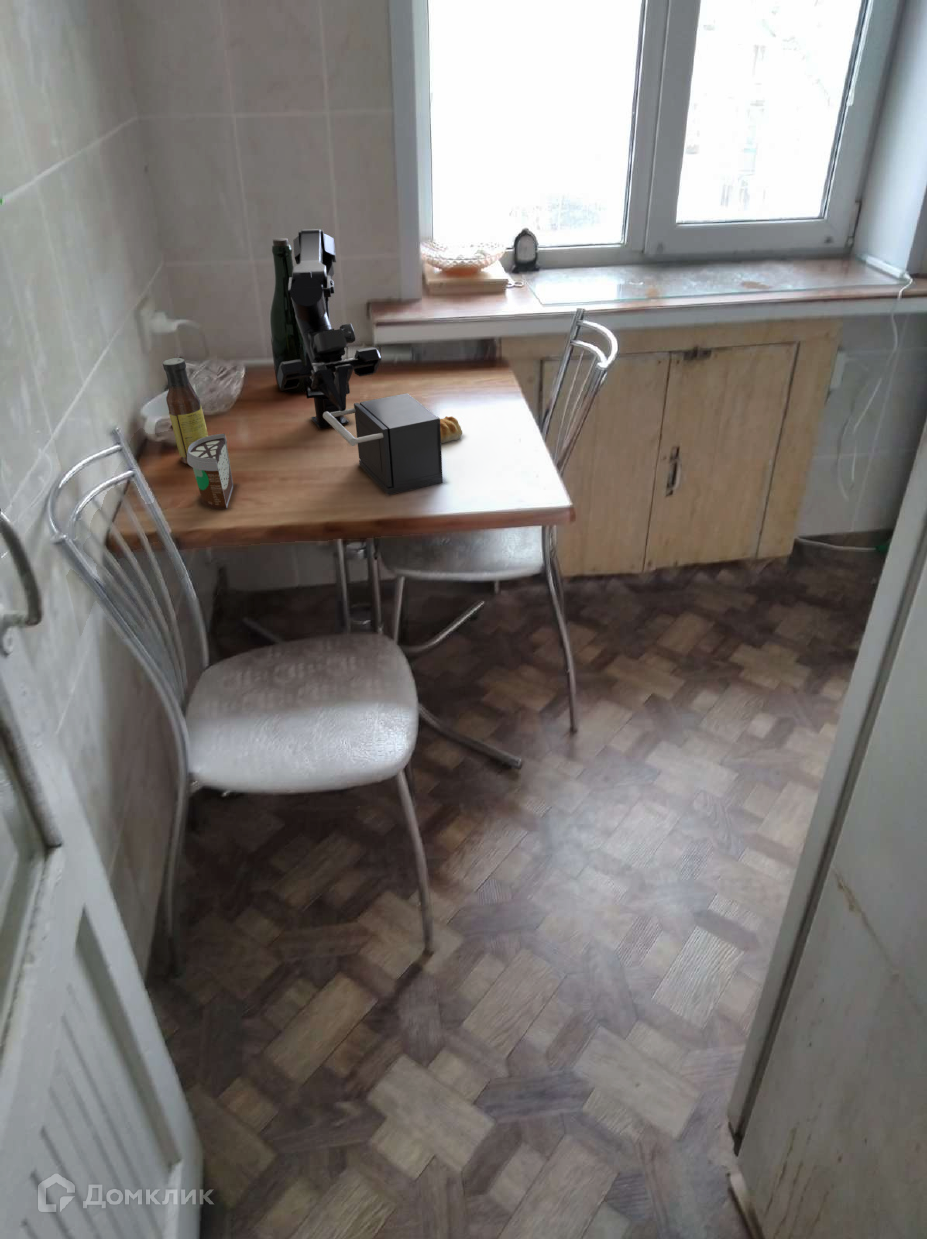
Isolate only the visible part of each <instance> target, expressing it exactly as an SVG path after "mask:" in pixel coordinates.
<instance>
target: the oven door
mask: <svg viewBox="0 0 927 1239" xmlns="http://www.w3.org/2000/svg"><path fill="white" fill-rule="evenodd" d="M352 414H354V421H355V430H356V437H355V436H354V435H353V434H352V433H351V432H350V431H349V430H348V429H347V428H346V427H344V426H343V425H341V424H340V423H339V422H338V421H337V420H336V419H335V418H334V417H337V416H342V415H343V416H346V415H347V416H348V415H352ZM323 418H324V419H325V420H326V421H327V422H328V423H329V424H330V425H331V426H332V427H331V428H333V429H334V430H335V431H336V432H337V433H338V434H339V435H340V436H341V437H342V438H343V439H344V440H345V441H346V442H347V443H348V444H349V445H350V446H351V447H356V445H357V452H358V460H361V461H362V462H363V463H364V464H365V465H366V466H367V467H368V468H369V469H370V470H371V471H372V472H373V473H374V474H375V475H376V476H377V477H378V478H379V479H380V480H381V481H382V482H383V483H384V484H385V485H386V486H387V487H391V486H392V479H391V466H390V453H389V440H388V429H387V428H386V427H385V426H384V425H383V424H382V423H380V422H379V421H378V420H377V419H376V418H375V417H374V416H372V415H371V414H370V413H369V412H368V411H367V410H366V409H365V408H363V407H362V406H361V405H360V402H355V403H353V408H348V409H347V408H346V409H345V411H337V412H331V413H329V412H324V413H323Z"/></svg>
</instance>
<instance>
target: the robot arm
mask: <svg viewBox="0 0 927 1239" xmlns="http://www.w3.org/2000/svg"><path fill="white" fill-rule="evenodd" d="M297 232H298V233H297V234H298V236H296V237H295V238H294V239H293V240H292V242H293V243H292V244H293V245H292V246H293V255H294V256H293V257H294V260H295V264H296V265H294V267H293V271H292V277H289V284H288V295H289V299H292V303H293V307H294V311H295V317H296V320H297V323H298V326H299V329H300V332H301V335H302V338H303V341H304V344H305V351H306V359H305V360H306V366H303V364H302V361H301V360H300V359H299V360H293V361H287V362H282V363H281V364H280V366H279V371H278V376H277V379H278V383H279V386H280V389H281V390H287V389H293V388H297V386H298V385H299V383H300V381H299V378H304V385H305V392H304V393H305V398H306V400H309V399H313V403H314V412H315V416H311V417H310V419H311V421H312V422H313V423H314V424H315V425H316V426H317V427H318V428H319V430H320V429H321V430H322V429H328V428H333V427H332V426H331V425H330V424H329V423H328V422H327V421H326V420H325V419H324V418H323V413H324V412H329V413H331V412H337V411H345V410H347V395H349V394H351V390H350V389H351V388H350V380H351V378H352V374H353V372H354V375H355V376H358V377H360V378H361V377H365V376H372V375H374V374H376V373H377V371H378V368H379V366H380V363H381V361H382V357H381V354H380V351H379V350H378V349H377V348H376V347H374V346H373V347H366V348H361V349H359V348H358V349H356V351H355V354H354V357H350V358H344V359H343V356H345V355H346V350H345V348H348V344H352V343H354V342H356V334H355V330H354V328H353V325H352V323H343V324H341V325H340V326H339V329H335V328H333V327H332V324H331V314H330V313H331V312H330V298H332V296H333V294H335V291H336V290H335V288H336V286H335V281H334V280H333V276H334V274H335V265H334V263H337V252H336V251H337V250H336V244H335V238H334V237H332V236H330V235H328V234H326V233H325V232H324V229H321V228H305V229H303V228H302V229H300V230H298V231H297ZM280 389H279V390H280ZM281 390H280V391H281ZM334 418H335V419H336V420H337V421H338V422H339V423H340V424H341V425H342V426H343V425H348V424H350V421H349V419H348V418H346V417H345V415H342V416H337V417H334Z"/></svg>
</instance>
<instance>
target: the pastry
mask: <svg viewBox="0 0 927 1239" xmlns="http://www.w3.org/2000/svg"><path fill="white" fill-rule="evenodd" d="M440 431H441V444H444V443H449V442H452V441H456V440H459V439H460V438H461V436H462V435H463V429H462V427H461V425H460V424H459V420H458V419H457V418H456V417H454V416H445V417H444V418H440Z"/></svg>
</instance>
